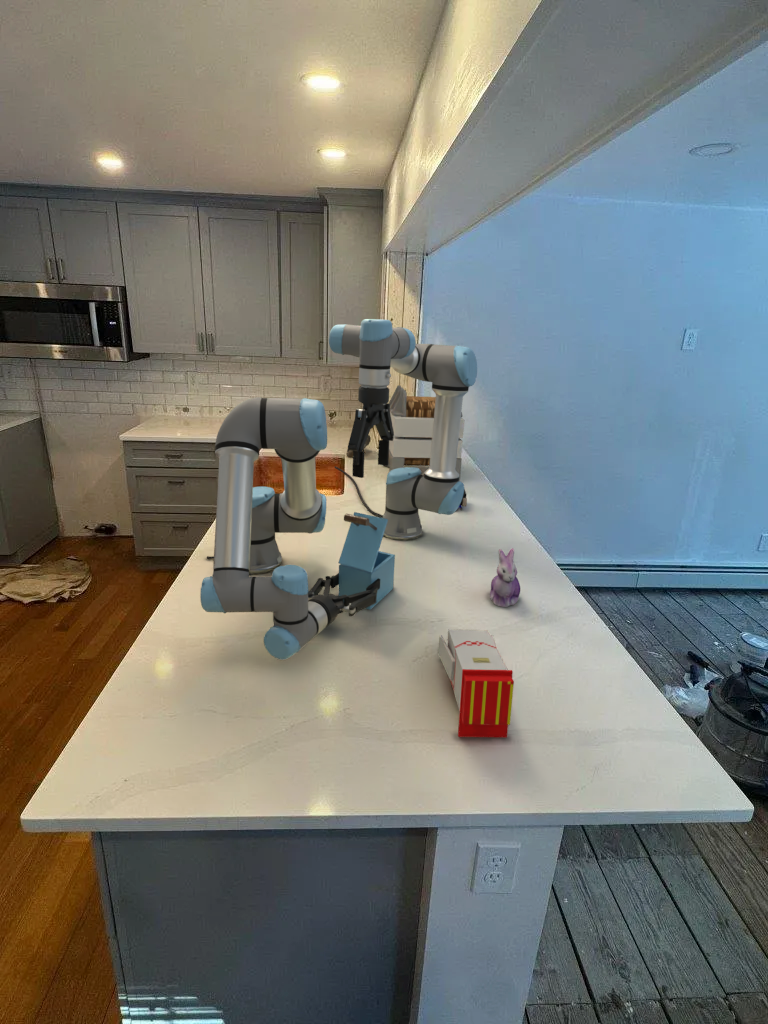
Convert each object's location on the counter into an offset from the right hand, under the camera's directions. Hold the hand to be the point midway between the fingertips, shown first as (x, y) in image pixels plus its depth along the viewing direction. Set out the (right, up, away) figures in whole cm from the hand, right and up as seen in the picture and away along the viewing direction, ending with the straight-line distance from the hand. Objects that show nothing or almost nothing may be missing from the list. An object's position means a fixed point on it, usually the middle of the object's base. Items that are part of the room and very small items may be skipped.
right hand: (371, 470), depth 145 cm
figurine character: (+33, -8, +86) cm, 92 cm away
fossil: (-11, +21, +162) cm, 164 cm away
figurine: (+37, -35, +12) cm, 52 cm away
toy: (+21, -48, -26) cm, 59 cm away
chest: (-2, -33, +12) cm, 35 cm away
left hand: (-3, -28, +7) cm, 29 cm away
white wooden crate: (+21, +8, +130) cm, 132 cm away
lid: (-2, -18, +4) cm, 19 cm away
